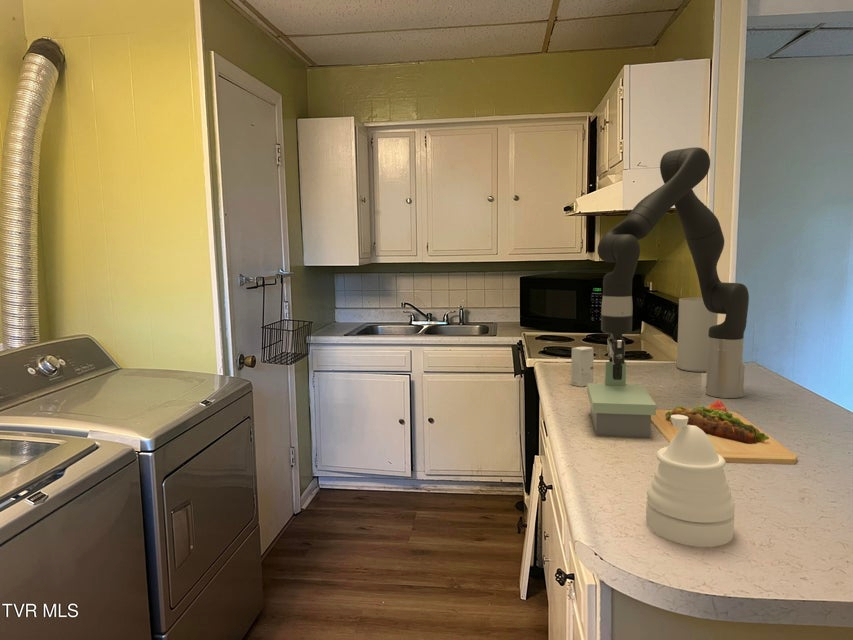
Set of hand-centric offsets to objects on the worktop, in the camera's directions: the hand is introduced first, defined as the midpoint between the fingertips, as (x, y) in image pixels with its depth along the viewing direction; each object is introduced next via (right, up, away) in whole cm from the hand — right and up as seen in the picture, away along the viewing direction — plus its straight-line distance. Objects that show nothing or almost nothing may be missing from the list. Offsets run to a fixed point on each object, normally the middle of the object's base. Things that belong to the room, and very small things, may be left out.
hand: (615, 375), depth 152 cm
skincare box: (+2, -7, +38) cm, 39 cm away
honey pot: (-7, -19, -57) cm, 61 cm away
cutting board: (+18, -14, -13) cm, 26 cm away
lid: (-2, -6, -8) cm, 10 cm away
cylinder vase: (+47, -3, +58) cm, 75 cm away
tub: (-1, -12, -7) cm, 14 cm away
